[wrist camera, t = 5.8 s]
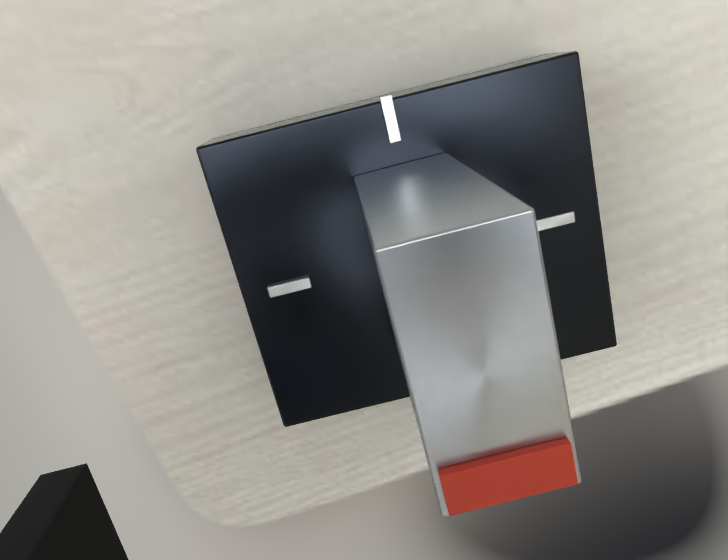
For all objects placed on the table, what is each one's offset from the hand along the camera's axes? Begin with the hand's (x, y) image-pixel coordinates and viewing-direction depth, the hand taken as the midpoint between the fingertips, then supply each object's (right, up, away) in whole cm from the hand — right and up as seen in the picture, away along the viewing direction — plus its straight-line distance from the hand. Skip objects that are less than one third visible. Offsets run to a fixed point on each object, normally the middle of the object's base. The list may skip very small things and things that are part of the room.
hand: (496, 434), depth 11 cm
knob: (0, +3, +11) cm, 11 cm away
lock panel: (0, +4, +13) cm, 14 cm away
